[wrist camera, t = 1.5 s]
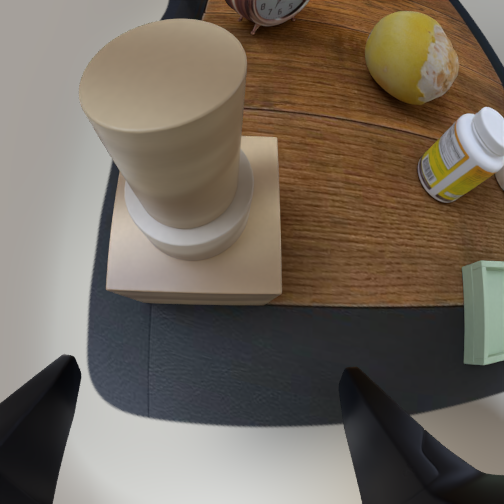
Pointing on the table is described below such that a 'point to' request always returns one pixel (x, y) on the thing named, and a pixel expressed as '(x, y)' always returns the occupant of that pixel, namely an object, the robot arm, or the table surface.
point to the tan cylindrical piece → (175, 132)
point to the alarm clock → (267, 11)
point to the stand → (212, 269)
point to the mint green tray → (483, 312)
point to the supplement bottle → (464, 155)
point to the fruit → (411, 57)
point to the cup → (500, 177)
